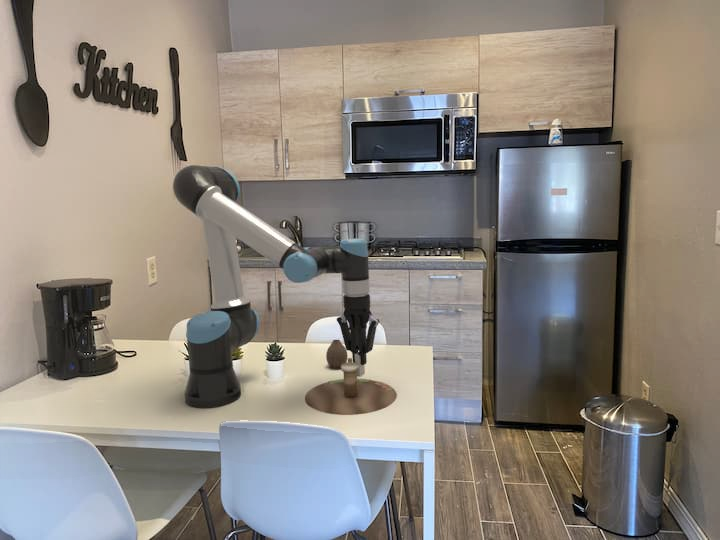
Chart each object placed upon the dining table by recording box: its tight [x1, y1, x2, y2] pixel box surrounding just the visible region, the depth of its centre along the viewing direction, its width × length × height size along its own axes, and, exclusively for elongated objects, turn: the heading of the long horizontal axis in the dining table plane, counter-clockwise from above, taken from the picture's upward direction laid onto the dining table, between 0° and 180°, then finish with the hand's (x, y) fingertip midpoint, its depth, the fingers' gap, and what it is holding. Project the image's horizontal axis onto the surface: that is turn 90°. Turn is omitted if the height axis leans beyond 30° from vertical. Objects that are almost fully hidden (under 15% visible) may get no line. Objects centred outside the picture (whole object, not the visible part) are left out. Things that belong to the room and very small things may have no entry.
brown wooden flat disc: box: [304, 378, 398, 416], centre depth 137 cm, size 25×25×1 cm
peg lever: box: [340, 357, 359, 397], centre depth 141 cm, size 15×5×8 cm, turn 1°
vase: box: [326, 339, 348, 369], centre depth 164 cm, size 7×7×9 cm
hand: (360, 374), depth 144 cm, fingers closed
